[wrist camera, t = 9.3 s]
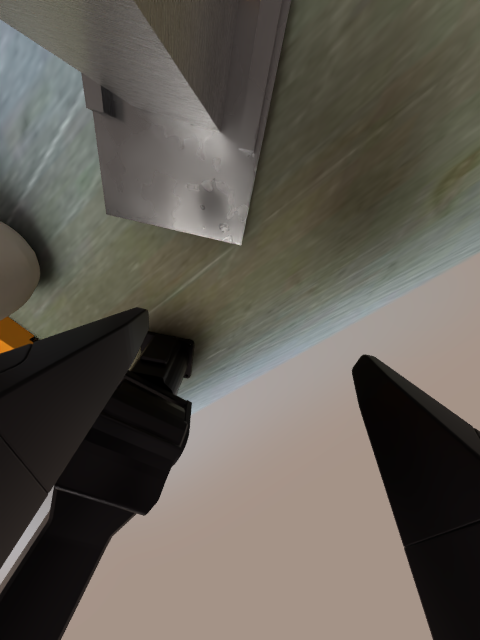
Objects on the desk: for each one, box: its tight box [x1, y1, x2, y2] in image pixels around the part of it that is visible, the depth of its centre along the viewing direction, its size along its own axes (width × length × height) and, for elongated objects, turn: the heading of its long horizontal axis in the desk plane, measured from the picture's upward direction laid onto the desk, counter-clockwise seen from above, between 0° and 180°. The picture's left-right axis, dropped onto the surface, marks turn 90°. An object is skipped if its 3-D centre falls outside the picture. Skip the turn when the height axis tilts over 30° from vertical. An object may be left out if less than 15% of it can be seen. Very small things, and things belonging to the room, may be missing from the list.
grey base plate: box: [81, 0, 291, 245], centre depth 12 cm, size 16×11×4 cm
